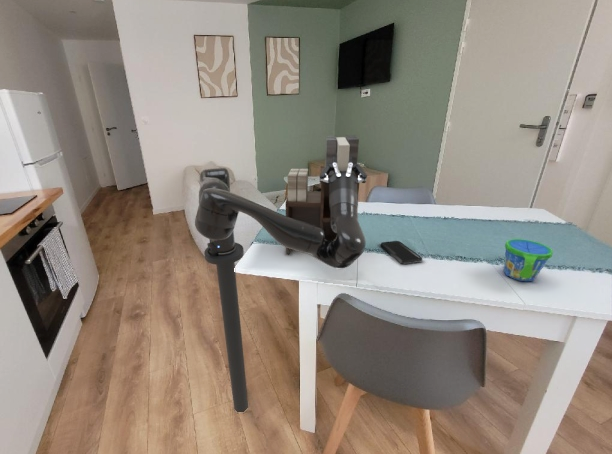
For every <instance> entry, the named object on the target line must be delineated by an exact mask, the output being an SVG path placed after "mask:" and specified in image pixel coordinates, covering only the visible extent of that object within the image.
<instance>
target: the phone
mask: <svg viewBox="0 0 612 454" xmlns="http://www.w3.org/2000/svg"><path fill="white" fill-rule="evenodd" d="M380 247H381V248H382V249H384V250H385V251H386V253H387V254H388V255H390V256H392V258H394V259H395V260H396V261H397V262H398V263H400V264H401V265H409V264H410V265H411V264H417V263H418V264H419V263H423V257H422V256H421V255H419V254H418V253H416V252H415V251H414V250H412V249H411V248H410V247H408V246H407V245H406V244H404V243H403V242H401V241H399V240H393V241H392V240H391V241H383V242H381V243H380Z"/></svg>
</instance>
